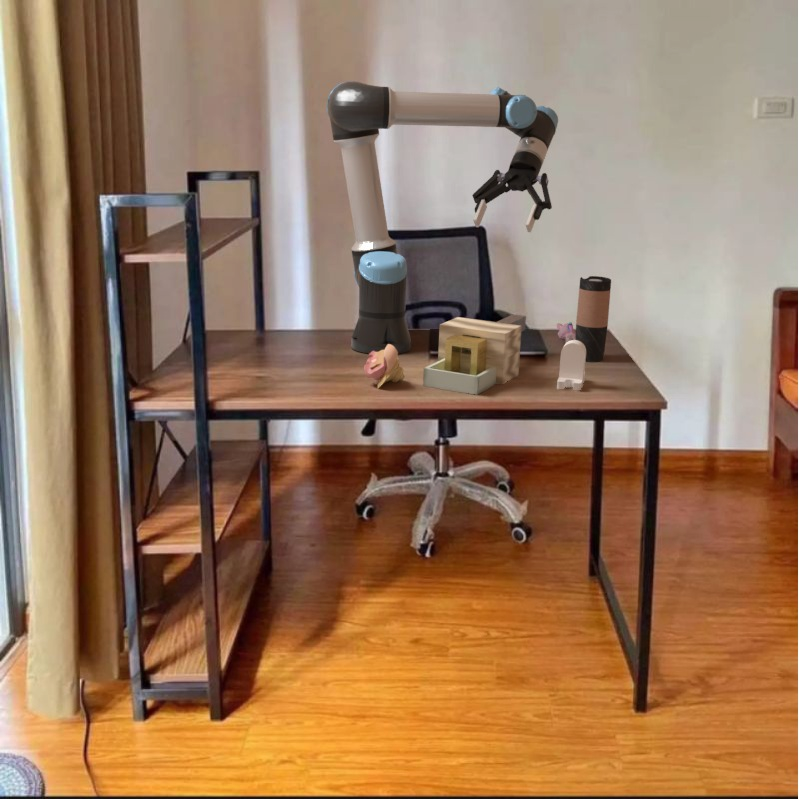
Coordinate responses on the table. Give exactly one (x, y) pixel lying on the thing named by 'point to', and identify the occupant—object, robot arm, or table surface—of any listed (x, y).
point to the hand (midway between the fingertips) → (501, 226)
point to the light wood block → (498, 349)
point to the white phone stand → (572, 365)
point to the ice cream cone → (384, 365)
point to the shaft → (510, 320)
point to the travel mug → (593, 316)
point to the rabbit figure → (566, 332)
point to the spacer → (454, 352)
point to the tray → (458, 379)
